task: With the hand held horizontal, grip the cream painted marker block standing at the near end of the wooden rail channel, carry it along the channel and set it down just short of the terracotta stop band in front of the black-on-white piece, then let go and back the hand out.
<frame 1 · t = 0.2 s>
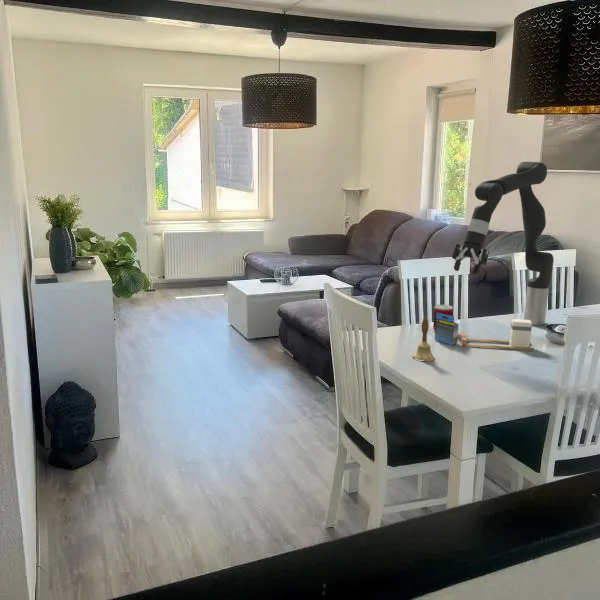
hand: (465, 272, 235), 31 cm above the table, tool tilted 20°, fingers open, 8 cm apart
wooden rail channel: (498, 345, 245), on the table
canned food: (442, 331, 264), on the table
marker block: (519, 347, 243), resting in wooden rail channel
hand bell: (423, 358, 230), on the table
label tape cartridge: (445, 342, 249), on the table
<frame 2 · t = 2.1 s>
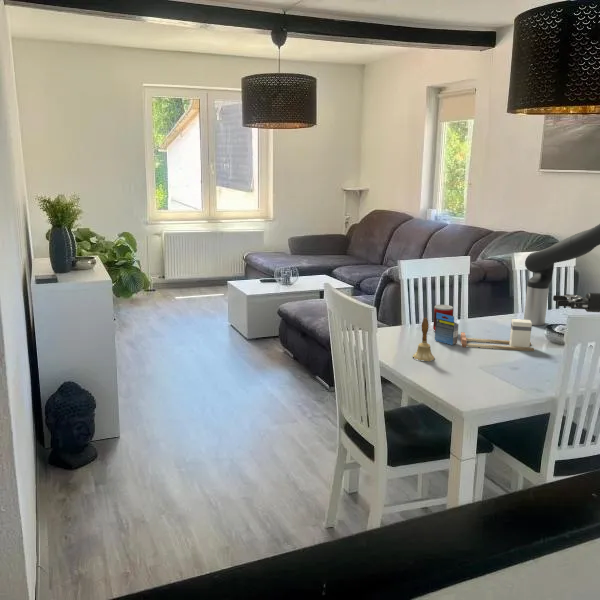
hand: (555, 300, 236), 20 cm above the table, tool horizontal, fingers open, 8 cm apart
nothing on the table moved.
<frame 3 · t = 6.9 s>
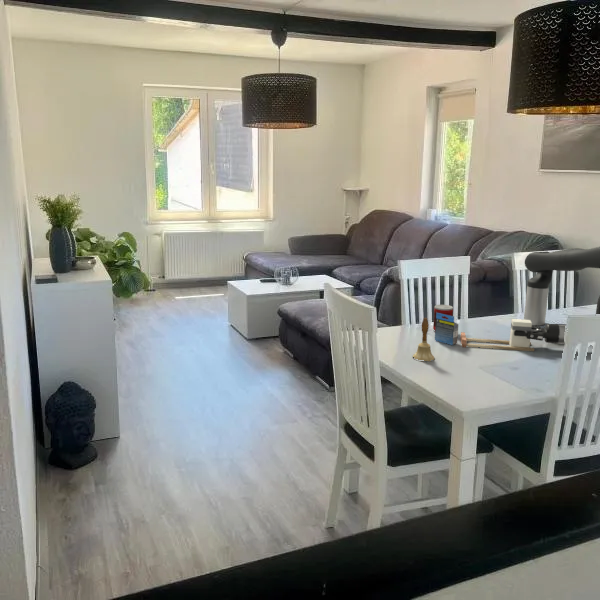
hand: (513, 331, 242), 7 cm above the table, tool horizontal, fingers closed on marker block, 4 cm apart
marker block: (519, 346, 243), resting in wooden rail channel, touching gripper
everything else where it was.
when the fingers open (8 cm above the table, at t = 11.9 s): marker block drops 1 cm, resting in wooden rail channel.
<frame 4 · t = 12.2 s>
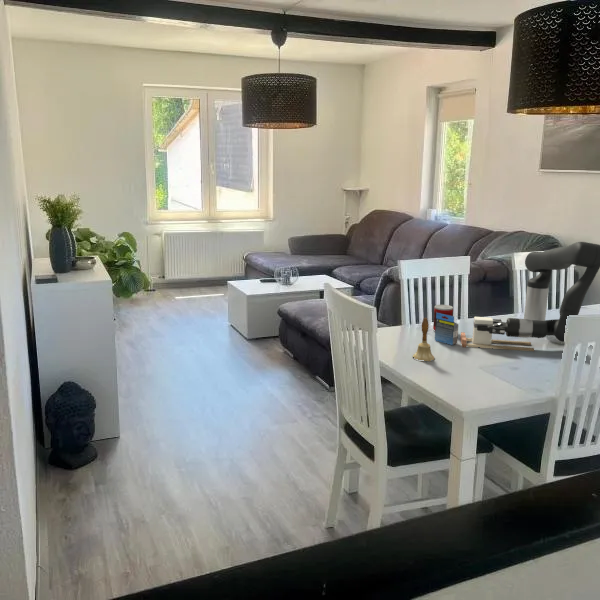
hand: (476, 325, 244), 8 cm above the table, tool horizontal, fingers open, 6 cm apart
marker block: (481, 344, 246), resting in wooden rail channel
everything else where it was.
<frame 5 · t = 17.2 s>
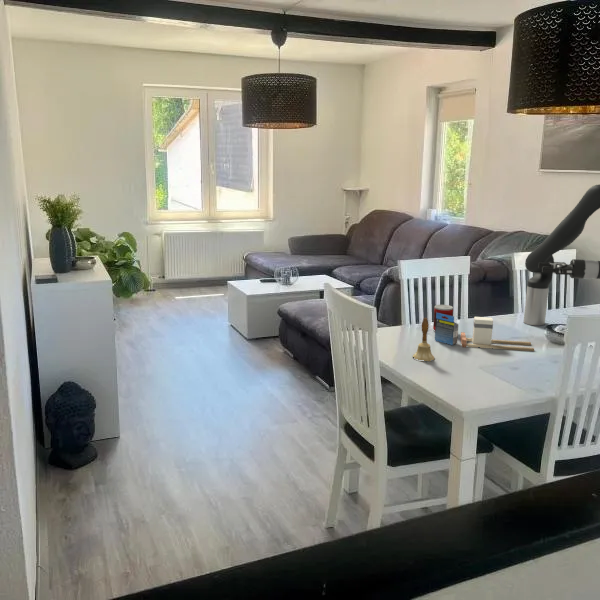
hand: (540, 267, 240), 32 cm above the table, tool horizontal, fingers open, 8 cm apart
nothing on the table moved.
at the end: marker block inside the target area (0.3 cm from its centre), resting in wooden rail channel; marker block tilted 0°; the gripper is holding nothing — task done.
